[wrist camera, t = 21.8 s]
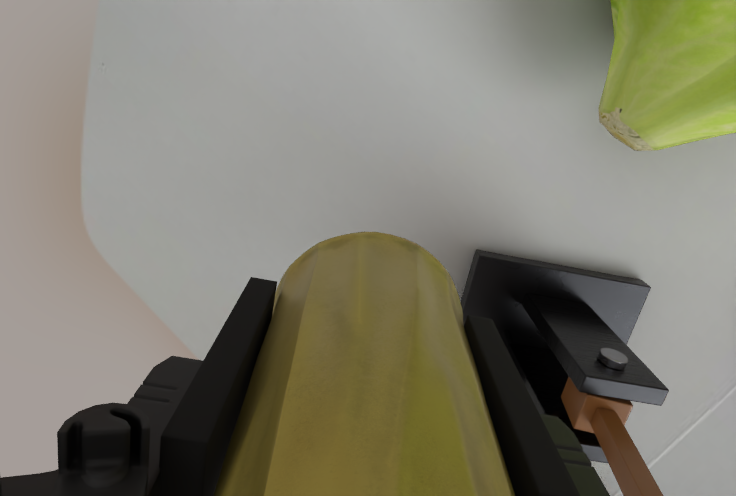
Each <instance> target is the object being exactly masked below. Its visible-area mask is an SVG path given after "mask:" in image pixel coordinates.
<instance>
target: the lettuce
mask: <svg viewBox="0 0 736 496" xmlns="http://www.w3.org/2000/svg"><path fill="white" fill-rule="evenodd" d="M610 1H611V10H612V19H613V29H614V38H615V41H614V46H613V51H612V55H611V60H610V65H609V70H608V75H607V79H606V83H605V86H604V90H603V94H602V97H601V101H600V105H599V121H600V123H602V124H603V125H604V126H605V128H606V129H607V130H608V131H609V132H610V133H611V134H612V135H613V136H614V137H615V138H616V139H618V140H619V141H621V142H623V143H624V144H626V145H627V146H629V147H630V148H632V149H633V150H637V151H641V150H660V149H664V148H668V147H672V146H677V145H681V144H685V143H689V142H693V141H698V140H703V139H707V138H712V137H716V136H721V135H726V134H730V133H736V0H610Z"/></svg>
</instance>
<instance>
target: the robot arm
mask: <svg viewBox="0 0 736 496" xmlns="http://www.w3.org/2000/svg"><path fill="white" fill-rule="evenodd" d="M276 285H277V282H276V281H270V280H264V279H258V278H253V277H251V278H250V280H249V282H248V284H247V285H246V287H245V289H244V291H243V292H242V294H241V296H240V298H239V299H238V301H237V303H236V305H235V306H234V308H233V310H232V312H231V313H230V315H229V317H228V319H227V320H226V322H225V324H224V326H223V328H222V329H221V331H220V333H219V335H218V336H217V338H216V340H215V342H214V343H213V345H212V347H211V349H210V350H209V352H208V354H207V356H206V357H205V359H204V361H201V360H195V359H189V358H182V357H176V356H171V357H169V358H168V359H166V360H165V361H163V362H161V363H160V364H158V365H156V366H155V367H154V368H153V369H152V370H151V372H150V373H149V375H148V376H147V377H146V379H145V380H144V381H143V385H141V386H140V387H139V388H138V390H137V391H136V393H135V394H134V397H132V398H131V399H130V401H129V402H128V404H119V403H109V404H101V405H95V406H92V407H90V408H87V409H85V410H82V411H79V412H78V413H76V414H75V415H73V416H72V417H70V418H69V419H67V420H66V421H65V422H64V424H63V425H62V427H61V428H60V429H59V431H58V432H57V437H58V467H59V469H58V470H55V471H51V472H45V473H40V474H32V475H22V476H13V477H3V478H0V496H213V494H214V491H215V488H216V485H217V482H218V479H219V476H220V472H221V469H222V465H223V462H224V459H225V455H226V452H227V449H228V446H229V443H230V440H231V437H232V434H233V431H234V428H235V425H236V423H237V420H238V417H239V414H240V411H241V408H242V405H243V402H244V399H245V396H246V392H247V389H248V386H249V383H250V379H251V376H252V373H253V370H254V366H255V363H256V360H257V357H258V354H259V352H260V349H261V346H262V344H263V341H264V338H265V336H266V333H267V330H268V327H269V325H270V322H271V319H272V314H273V307H274V300H275V292H276ZM464 329H465V332H466V335H467V339H468V342H469V345H470V348H471V351H472V354H473V357H474V361H475V364H476V367H477V371H478V374H479V377H480V381H481V385H482V389H483V392H484V396H485V400H486V403H487V407H488V410H489V413H490V417H491V420H492V423H493V426H494V429H495V432H496V435H497V438H498V441H499V445H500V448H501V451H502V454H503V457H504V461H505V464H506V467H507V470H508V474H509V477H510V480H511V483H512V487H513V490H514V493H515V496H610V495H609V493H608V492H607V490H606V488H605V486H604V485H603V483H602V481H601V479H600V478H599V476H598V474H597V472H596V471H595V469H594V467H591V462H590V460H589V458H588V457H587V455H586V453H584V452H583V448H582V446H581V444H580V442H579V441H578V439H577V437H576V435H575V434H574V432H573V431H572V430H571V429H570V428H569V427H568V426H567V425H566V424H565V423H564V422H563V421H561V420H560V419H559V418H558V417H557V416H551V415H545V414H539V412H538V410H537V408H536V406H535V404H534V402H533V400H532V398H531V396H530V394H529V392H528V390H527V388H526V386H525V384H524V382H523V380H522V378H521V376H520V374H519V372H518V370H517V368H516V366H515V364H514V362H513V360H512V358H511V356H510V354H509V352H508V350H507V348H506V346H505V344H504V342H503V340H502V338H501V336H500V334H499V332H498V330H497V328H496V326H495V324H494V322H493V320H492V319H489V318H483V317H478V316H472V315H467V318H466V322H465V325H464Z"/></svg>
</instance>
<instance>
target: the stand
mask: <svg viewBox="0 0 736 496" xmlns="http://www.w3.org/2000/svg"><path fill="white" fill-rule="evenodd" d="M650 288H651V287H650V286H649V285H647V284H646V283H645V282H643V281H642V280H638V279H633V278H627V277H622V276H616V275H611V274H605V273H600V272H595V271H589V270H584V269H578V268H573V267H568V266H562V265H557V264H551V263H546V262H541V261H535V260H530V259H524V258H519V257H513V256H508V255H503V254H497V253H492V252H486V251H481V250H476V251H475V255H474V258H473V262H472V265H471V269H470V272H469V276H468V279H467V283H466V286H465V290H464V293H463V297H462V300H461V306H462V312H463V325H465V322H466V318H467V315H472V316H478V317H483V318H489V319H492V320H493V322H494V324H495V326H496V328H497V330H498V332H499V334H500V336H501V338H502V340H503V342H504V344H505V346H506V348H507V350H508V352H509V354H510V356H511V358H512V360H513V362H514V364H515V366H516V368H517V370H518V372H519V374H520V376H521V378H522V380H523V382H524V384H525V386H526V388H527V390H528V392H529V394H530V396H531V398H532V400H533V402H534V404H535V406H536V408H537V410H538V412H539V414H545V415H551V416H557V417H558V418H559V419H560V420H561V421H563V422H564V423H565V424H566V425H567V426H568V427H569V428H570V429H571V430H572V431H573V432H574V434H575V435H576V437H577V439H578V441H579V442H580V444H581V446H582V448H583V452H584V453H586V455H587V457H588V458H589V460H591V461H597V462H603V463H608V461H607V459H606V457H605V454H604V452H603V450H602V448H601V446H600V444H599V441H598V439H597V437H596V435H595V434H594V433H590V432H586V431H582V430H578V429H574V428H573V426H572V424H571V421H570V419H569V416H568V414H567V411H566V409H565V407H564V404H563V402H562V399H561V395H562V392H563V390H564V387H565V385H566V382H567V380H568V377H570V379H571V380H572V382H573V383H574V385H575V386H576V388H577V389H578V391H579V392H582V393H588V394H594V395H600V396H606V397H612V398H618V399H624V400H630V401H636V402H642V403H648V404H654V405H660V406H661V405H662V404H663V402H664V400H665V398H666V395H667V393H668V391H669V390H668V389H667V388H666V386H665V385H664V384H663V383H662V382H661V381H660V380H659V379H658V378H657V377H656V376H655V375H654V374H653V373H652V372H651V371H650V370H649V368H648V367H647V366H646V365H645V364H644V363H643V362H642V361H641V360H640V359H639V358H638V357H637V356H636V355H635V354H634V353H633V352H632V351H631V349H630V348H629V347H628V346H627V345H626V344H627V342H628V339H629V337H630V335H631V332H632V330H633V328H634V325H635V323H636V321H637V318H638V316H639V314H640V312H641V309H642V307H643V305H644V302H645V300H646V298H647V295H648V293H649V291H650Z"/></svg>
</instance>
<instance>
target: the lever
mask: <svg viewBox="0 0 736 496" xmlns="http://www.w3.org/2000/svg"><path fill="white" fill-rule="evenodd" d="M561 399H562V402H563V404H564V407H565V409H566V411H567V414H568V416H569V419H570V421H571V424H572V426H573V428H574V429H578V430H582V431H586V432H590V433H594V434H595V435H596V437H597V439H598V441H599V444H600V446H601V448H602V450H603V452H604V454H605V457H606V459H607V461H608V463H609V465H610V467H611V469H612V472H613V474H614V476H615V478H616V480H617V482H618V484H619V487H620V489H621V491H622V493H623V495H624V496H663V494H662V492H661V491H660V489H659V487H658V485H657V484H656V482H655V480H654V478H653V476H652V475H651V473H650V471H649V469H648V468H647V466H646V464H645V462H644V460H643V459H642V457H641V455H640V453H639V452H638V450H637V448H636V446H635V444H634V443H633V441H632V439H631V437H630V436H629V434H628V432H627V430H626V428H625V427H624V425H625V423H626V421H627V419H628V416H629V414H630V412H631V410H632V408H633V405H632V403H631V402H630V400H624V399H618V398H612V397H606V396H600V395H594V394H588V393H582V392H579V391H578V389H577V388H576V386H575V385H574V383H573V382H572V380H571V379H570V377H568V380H567V382H566V385H565V387H564V390H563V392H562V395H561Z"/></svg>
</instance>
